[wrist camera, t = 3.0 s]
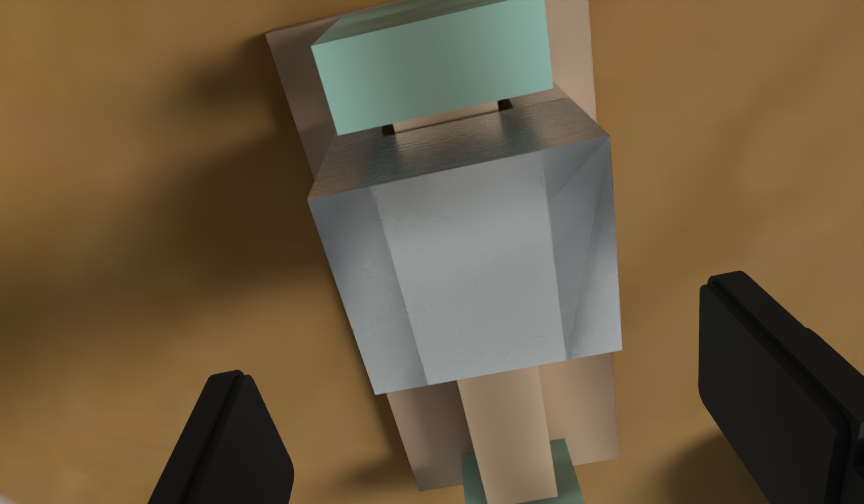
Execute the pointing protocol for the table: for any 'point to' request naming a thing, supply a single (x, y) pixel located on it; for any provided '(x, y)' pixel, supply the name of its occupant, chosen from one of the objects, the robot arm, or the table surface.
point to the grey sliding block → (473, 242)
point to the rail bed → (443, 401)
